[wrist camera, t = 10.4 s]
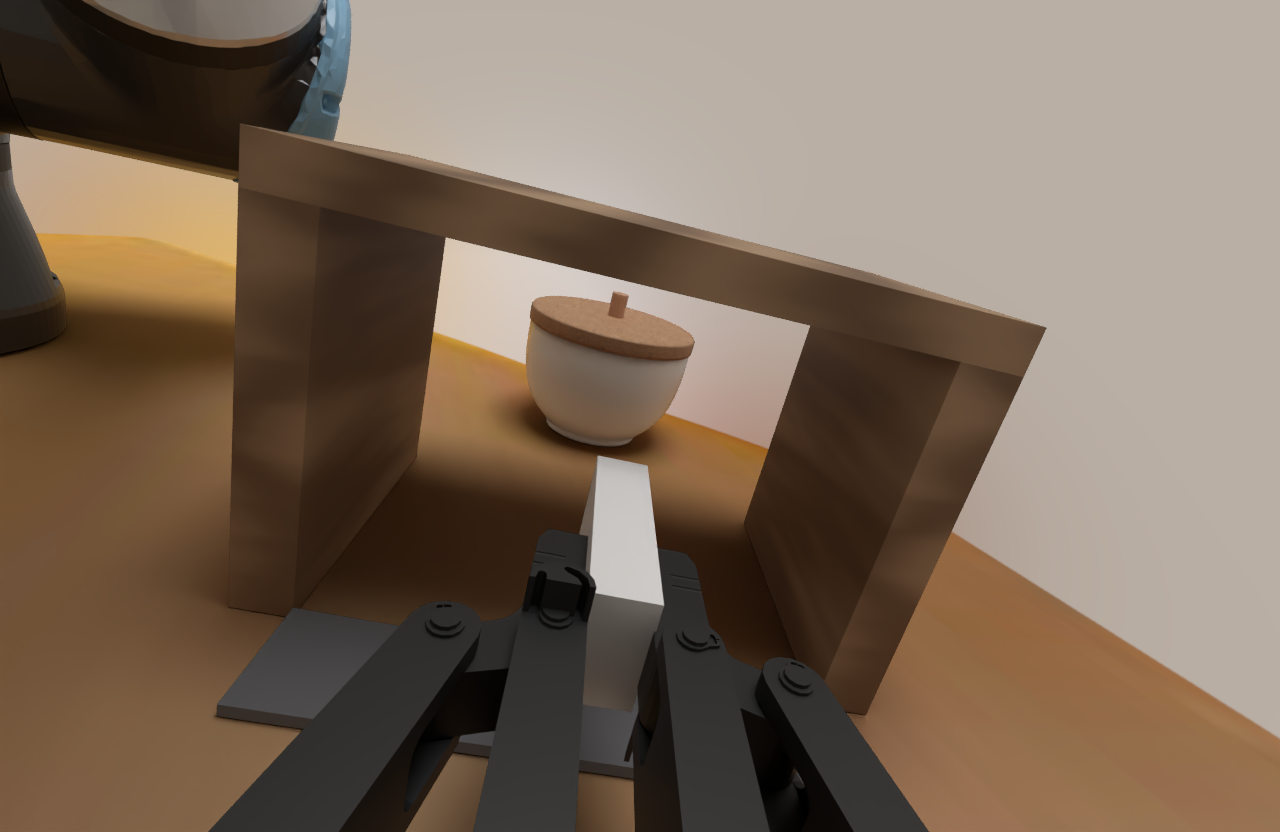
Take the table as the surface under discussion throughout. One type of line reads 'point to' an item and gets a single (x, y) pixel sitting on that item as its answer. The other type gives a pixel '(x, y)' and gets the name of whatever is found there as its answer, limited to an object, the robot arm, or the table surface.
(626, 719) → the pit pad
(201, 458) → the table surface
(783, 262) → the tunnel
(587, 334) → the lidded jar
